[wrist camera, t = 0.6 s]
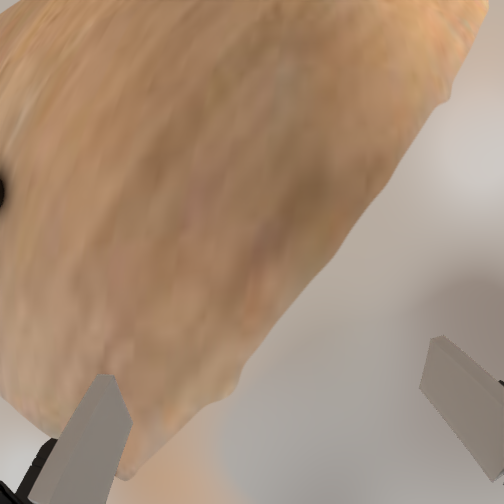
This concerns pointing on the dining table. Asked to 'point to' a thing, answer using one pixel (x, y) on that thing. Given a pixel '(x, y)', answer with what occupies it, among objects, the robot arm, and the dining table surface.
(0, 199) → the mug
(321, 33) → the dining table surface
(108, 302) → the dining table surface
